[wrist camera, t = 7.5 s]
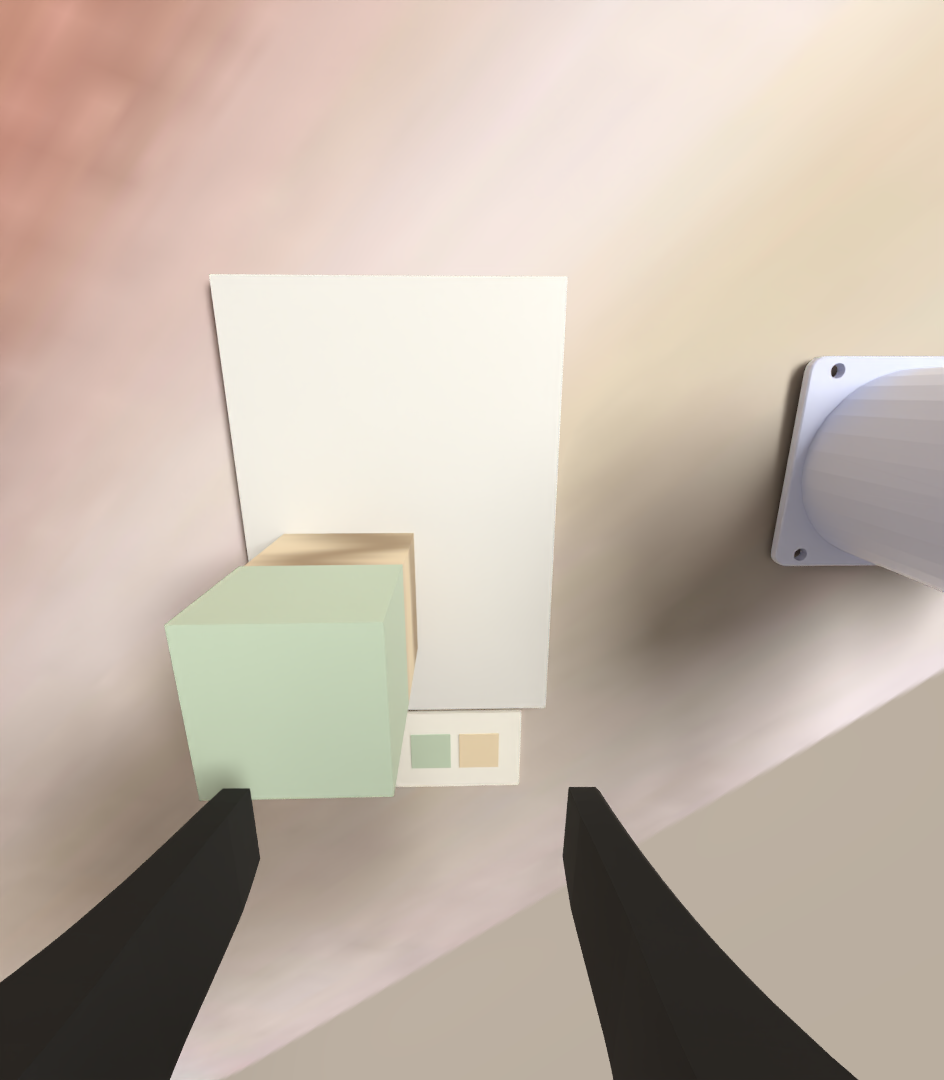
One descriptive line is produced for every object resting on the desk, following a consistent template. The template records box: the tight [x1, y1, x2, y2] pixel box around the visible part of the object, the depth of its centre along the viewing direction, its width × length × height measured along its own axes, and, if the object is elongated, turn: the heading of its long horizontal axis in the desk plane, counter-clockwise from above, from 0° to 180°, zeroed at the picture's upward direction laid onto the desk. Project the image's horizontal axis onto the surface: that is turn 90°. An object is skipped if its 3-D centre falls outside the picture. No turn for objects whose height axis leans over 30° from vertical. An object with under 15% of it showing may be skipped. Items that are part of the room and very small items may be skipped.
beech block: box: [245, 533, 418, 706], centre depth 18 cm, size 5×5×4 cm
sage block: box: [164, 564, 409, 801], centre depth 14 cm, size 5×5×4 cm
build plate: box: [209, 274, 568, 710], centre depth 19 cm, size 12×17×1 cm
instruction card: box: [395, 710, 521, 787], centre depth 23 cm, size 6×4×1 cm, turn 90°
